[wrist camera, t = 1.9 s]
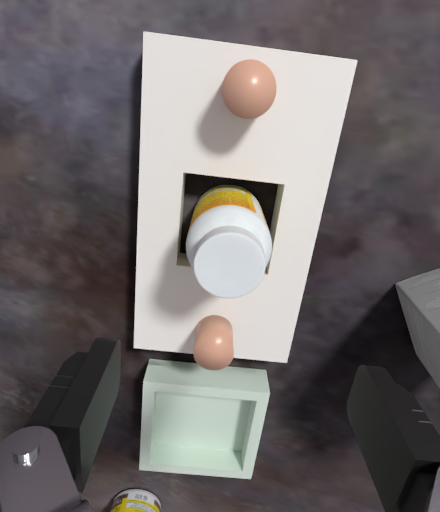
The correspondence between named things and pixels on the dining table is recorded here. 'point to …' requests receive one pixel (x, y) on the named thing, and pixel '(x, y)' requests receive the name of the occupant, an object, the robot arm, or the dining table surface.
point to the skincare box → (423, 317)
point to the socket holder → (238, 167)
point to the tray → (202, 419)
